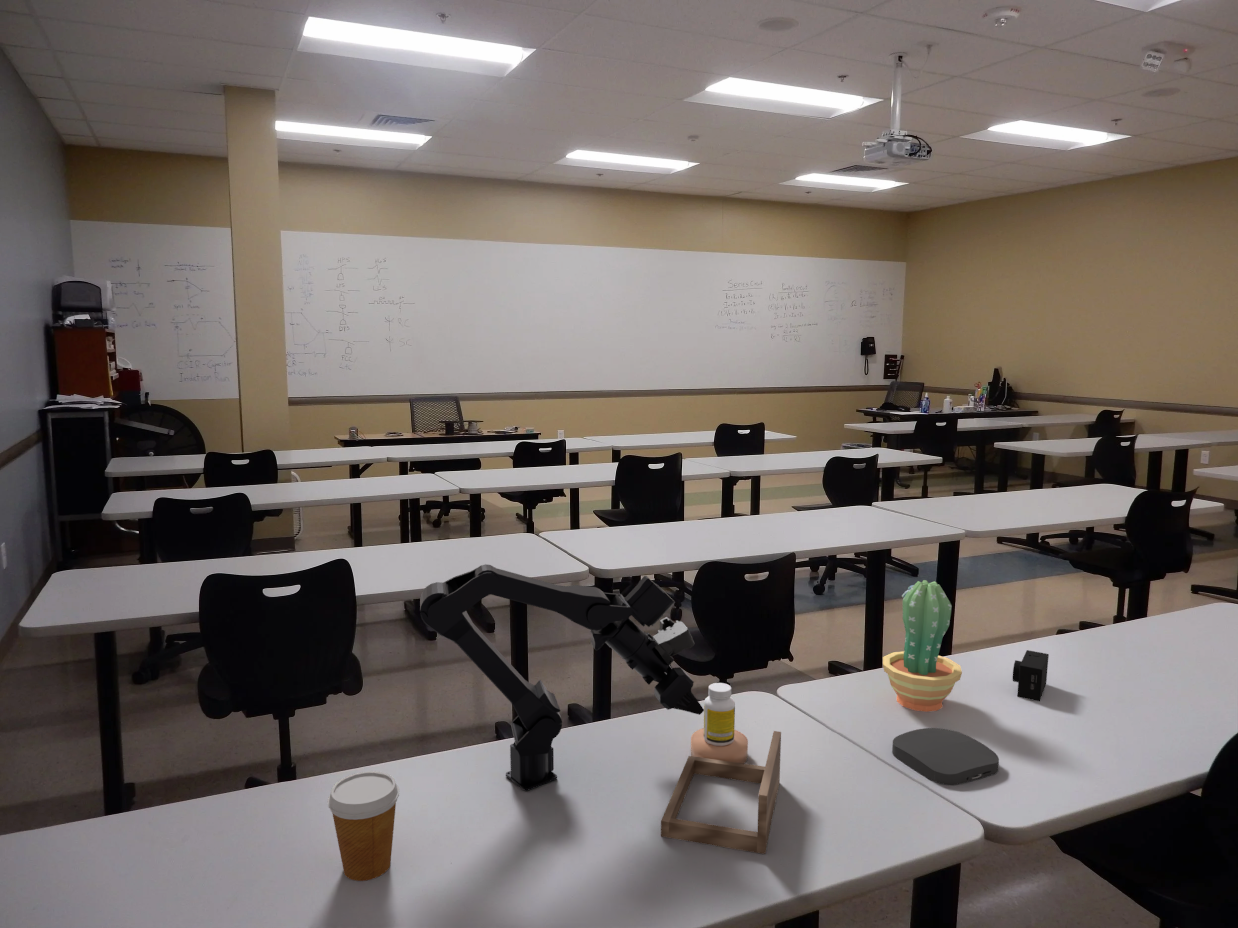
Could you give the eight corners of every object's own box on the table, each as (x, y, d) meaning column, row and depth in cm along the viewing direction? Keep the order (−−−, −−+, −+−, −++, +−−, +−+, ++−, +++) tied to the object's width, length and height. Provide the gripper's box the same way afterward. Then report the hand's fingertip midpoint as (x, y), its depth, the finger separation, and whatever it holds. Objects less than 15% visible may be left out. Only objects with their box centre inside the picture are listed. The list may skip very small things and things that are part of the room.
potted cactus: (966, 697, 173) (974, 579, 169) (951, 725, 160) (959, 599, 156) (890, 680, 181) (896, 568, 177) (870, 706, 168) (876, 586, 165)
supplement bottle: (739, 744, 146) (740, 690, 145) (711, 749, 145) (712, 695, 143) (725, 730, 151) (726, 679, 150) (698, 735, 150) (699, 683, 148)
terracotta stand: (719, 775, 142) (719, 759, 141) (679, 753, 149) (679, 737, 149) (759, 757, 148) (759, 741, 147) (718, 736, 156) (719, 721, 155)
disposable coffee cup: (340, 848, 121) (336, 770, 120) (407, 844, 122) (404, 768, 120) (323, 890, 112) (318, 807, 110) (395, 886, 113) (392, 804, 111)
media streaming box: (882, 751, 151) (883, 735, 151) (944, 736, 157) (945, 721, 156) (943, 791, 138) (944, 773, 137) (1008, 773, 143) (1009, 756, 143)
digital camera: (1018, 678, 182) (1020, 648, 181) (1046, 684, 180) (1048, 653, 178) (1010, 695, 174) (1013, 663, 173) (1039, 701, 171) (1042, 669, 170)
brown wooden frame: (660, 836, 124) (661, 779, 123) (688, 769, 144) (689, 719, 142) (765, 854, 120) (767, 795, 119) (779, 782, 140) (781, 731, 138)
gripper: (682, 628, 133) (745, 688, 137) (650, 593, 151) (707, 648, 155) (634, 679, 132) (698, 738, 137) (607, 638, 150) (665, 691, 155)
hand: (693, 700), depth 146 cm, fingers open, 9 cm apart
